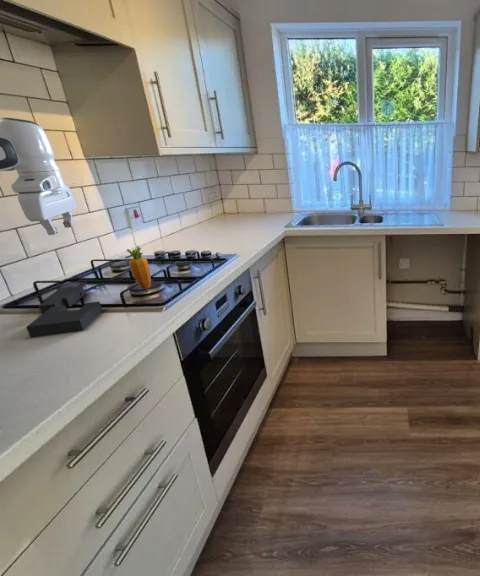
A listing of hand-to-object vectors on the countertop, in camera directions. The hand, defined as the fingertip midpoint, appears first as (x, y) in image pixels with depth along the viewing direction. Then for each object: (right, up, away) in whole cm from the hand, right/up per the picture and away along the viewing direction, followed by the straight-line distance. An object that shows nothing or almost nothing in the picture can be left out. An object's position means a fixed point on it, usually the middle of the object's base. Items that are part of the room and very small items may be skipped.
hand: (61, 230), depth 106 cm
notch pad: (+9, -26, -8) cm, 29 cm away
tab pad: (-3, -22, +4) cm, 22 cm away
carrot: (+18, -18, +12) cm, 28 cm away
